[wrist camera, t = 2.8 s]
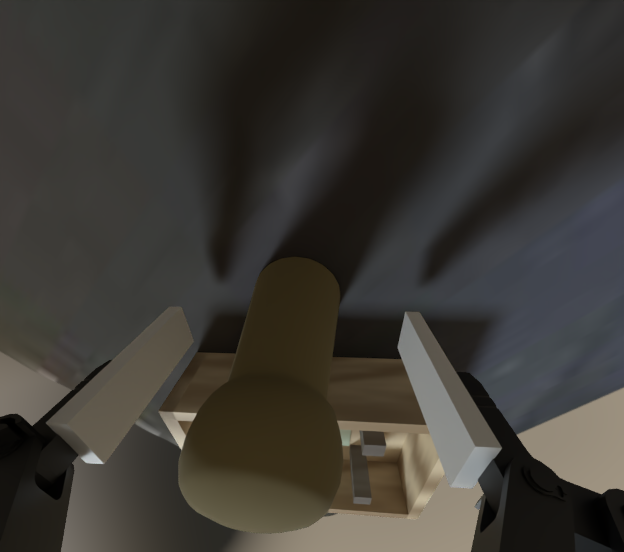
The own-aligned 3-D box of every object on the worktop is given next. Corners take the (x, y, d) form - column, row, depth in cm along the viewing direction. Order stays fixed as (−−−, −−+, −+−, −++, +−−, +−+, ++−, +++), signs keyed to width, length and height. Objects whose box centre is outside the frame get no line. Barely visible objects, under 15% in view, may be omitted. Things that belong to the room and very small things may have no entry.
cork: (239, 270, 15) (81, 482, 5) (325, 244, 14) (322, 460, 4) (275, 335, 18) (213, 554, 8) (350, 318, 16) (383, 554, 7)
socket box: (196, 352, 19) (158, 411, 15) (436, 360, 18) (472, 427, 13) (232, 446, 27) (213, 503, 22) (401, 456, 25) (417, 519, 21)
